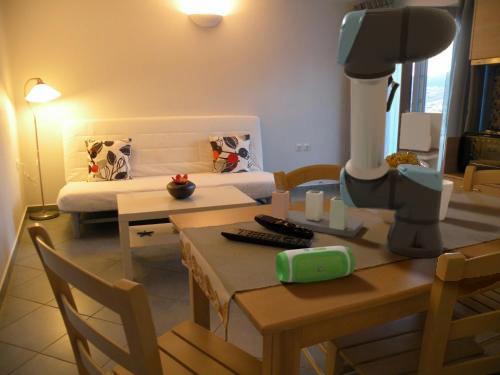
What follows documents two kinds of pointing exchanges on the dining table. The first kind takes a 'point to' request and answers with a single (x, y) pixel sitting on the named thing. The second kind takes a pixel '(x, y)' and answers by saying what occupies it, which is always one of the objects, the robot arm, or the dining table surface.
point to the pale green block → (338, 214)
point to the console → (324, 224)
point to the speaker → (314, 264)
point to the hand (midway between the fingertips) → (376, 132)
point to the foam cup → (445, 197)
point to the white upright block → (314, 205)
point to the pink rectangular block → (280, 204)
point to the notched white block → (421, 136)
